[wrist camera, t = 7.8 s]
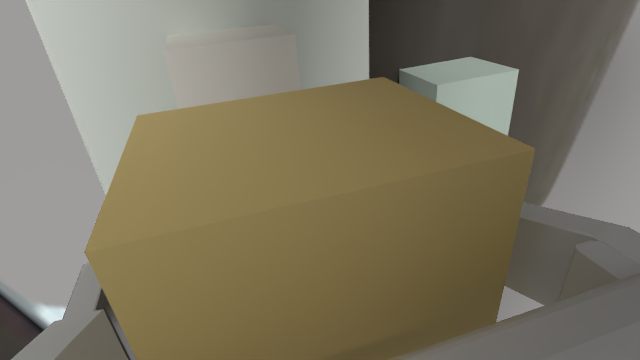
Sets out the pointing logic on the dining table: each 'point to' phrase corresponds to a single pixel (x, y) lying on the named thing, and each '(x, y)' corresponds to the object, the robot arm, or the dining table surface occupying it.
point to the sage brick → (467, 88)
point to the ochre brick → (308, 226)
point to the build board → (137, 63)
